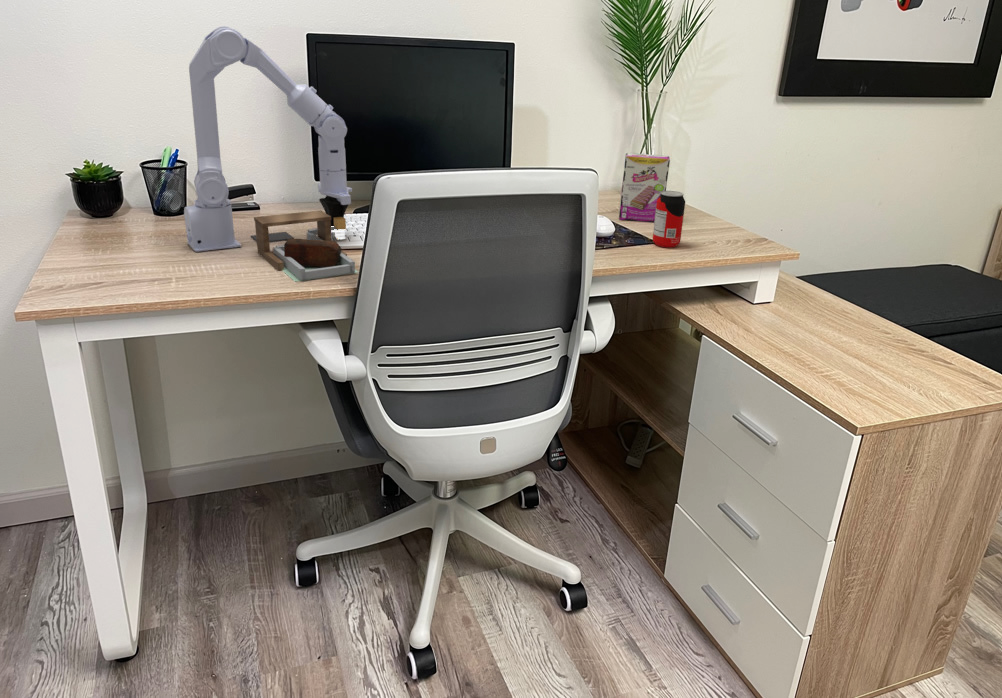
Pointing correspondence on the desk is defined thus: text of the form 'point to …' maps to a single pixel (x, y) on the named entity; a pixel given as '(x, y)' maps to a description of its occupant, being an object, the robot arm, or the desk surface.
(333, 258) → the brick
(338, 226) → the tray
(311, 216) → the tunnel
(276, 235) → the pit marker
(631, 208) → the candy bar box
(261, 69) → the robot arm
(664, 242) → the beverage can
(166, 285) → the desk surface
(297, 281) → the mat
